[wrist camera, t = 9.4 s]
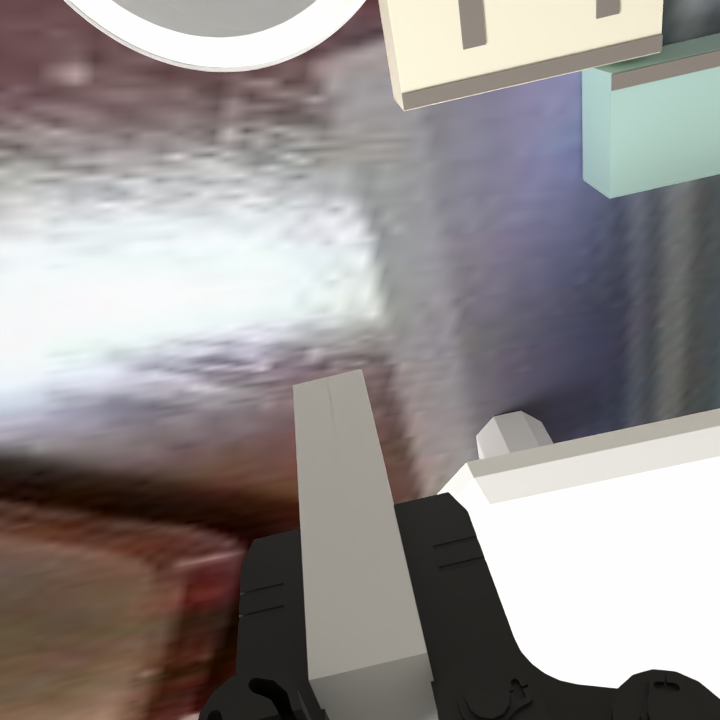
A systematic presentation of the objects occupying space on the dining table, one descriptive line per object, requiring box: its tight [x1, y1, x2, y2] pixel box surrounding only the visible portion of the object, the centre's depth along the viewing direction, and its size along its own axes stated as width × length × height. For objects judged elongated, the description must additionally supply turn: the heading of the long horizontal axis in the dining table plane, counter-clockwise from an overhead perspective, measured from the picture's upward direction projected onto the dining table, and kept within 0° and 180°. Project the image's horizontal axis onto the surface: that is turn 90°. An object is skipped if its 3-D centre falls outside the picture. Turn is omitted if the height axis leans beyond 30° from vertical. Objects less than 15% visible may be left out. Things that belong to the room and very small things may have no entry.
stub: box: [582, 33, 720, 199], centre depth 32 cm, size 8×6×4 cm
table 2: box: [437, 408, 720, 698], centre depth 37 cm, size 28×28×17 cm
